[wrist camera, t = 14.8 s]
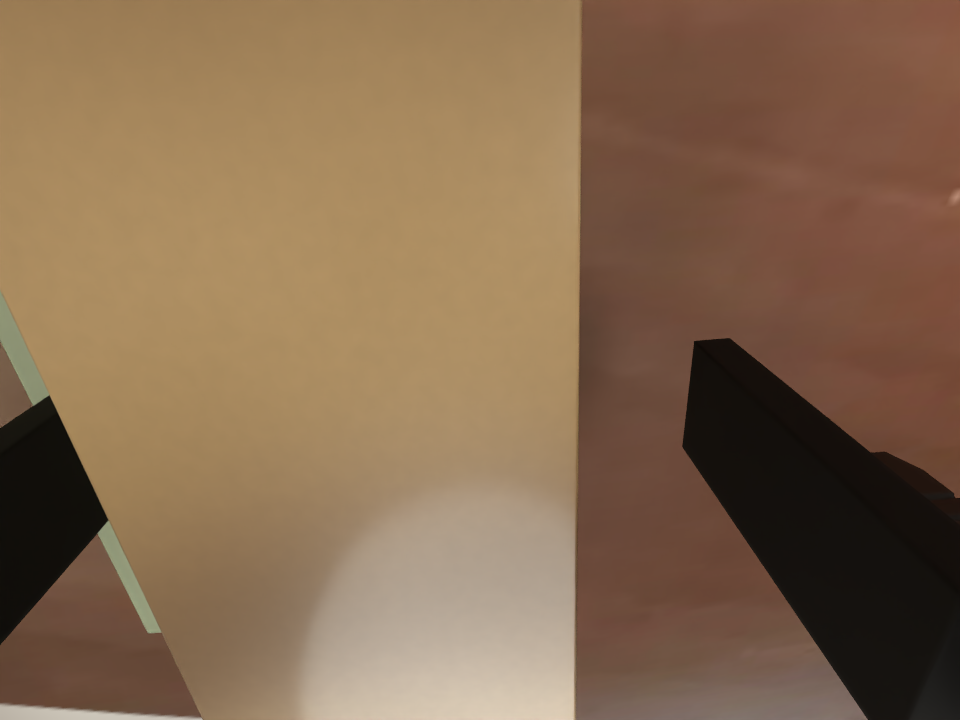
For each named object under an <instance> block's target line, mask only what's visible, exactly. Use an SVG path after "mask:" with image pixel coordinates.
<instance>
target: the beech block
mask: <svg viewBox="0 0 960 720" xmlns="http://www.w3.org/2000/svg"><path fill="white" fill-rule="evenodd" d="M581 99H582V0H0V291H1V293H2V295H3V298H4V300H5V302H6V304H7V306H8V308H9V310H10V312H11V315H12V317H13V319H14V321H15V323H16V325H17V327H18V329H19V331H20V334H21V336H22V338H23V340H24V342H25V344H26V346H27V348H28V351H29V353H30V355H31V357H32V359H33V361H34V363H35V365H36V368H37V370H38V372H39V374H40V376H41V378H42V380H43V382H44V384H45V387H46V389H47V391H48V393H49V395H50V397H51V399H52V401H53V404H54V406H55V408H56V410H57V412H58V414H59V416H60V418H61V420H62V423H63V425H64V427H65V429H66V431H67V433H68V435H69V437H70V440H71V442H72V444H73V446H74V448H75V450H76V452H77V454H78V456H79V459H80V461H81V463H82V465H83V467H84V469H85V471H86V473H87V476H88V478H89V480H90V482H91V484H92V486H93V488H94V490H95V492H96V495H97V497H98V499H99V501H100V503H101V505H102V507H103V509H104V512H105V514H106V516H107V518H108V520H109V522H110V524H111V526H112V528H113V531H114V533H115V535H116V537H117V539H118V541H119V543H120V545H121V548H122V550H123V552H124V554H125V556H126V558H127V560H128V562H129V564H130V567H131V569H132V571H133V573H134V575H135V577H136V579H137V581H138V584H139V586H140V588H141V590H142V592H143V594H144V596H145V598H146V600H147V603H148V605H149V607H150V609H151V611H152V613H153V615H154V617H155V620H156V622H157V624H158V626H159V628H160V630H161V632H162V634H163V637H164V639H165V641H166V643H167V645H168V647H169V649H170V651H171V653H172V656H173V658H174V660H175V662H176V664H177V666H178V668H179V670H180V673H181V675H182V677H183V679H184V681H185V683H186V685H187V687H188V689H189V692H190V694H191V696H192V698H193V700H194V702H195V704H196V706H197V709H198V711H199V713H200V715H201V717H202V719H203V720H576V671H577V557H578V442H579V328H580V213H581Z"/></svg>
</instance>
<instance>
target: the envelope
mask: <svg viewBox="0 0 960 720" xmlns="http://www.w3.org/2000/svg"><path fill="white" fill-rule="evenodd" d="M0 341H1V343H2V345H3V347H4V349H5V351H6V353H7V355H8V357H9V359H10V361H11V363H12V365H13V367H14V369H15V371H16V373H17V375H18V377H19V379H20V381H21V383H22V385H23V387H24V389H25V391H26V393H27V395H28V397H29V399H30V401H31V403H32V405H33V406H34V405H35V404H37V403H38V402H40V401H41V400H43V399H44V398H46V397H47V396H49V393H48V391H47V389H46V387H45V384H44V382H43V380H42V378H41V376H40V374H39V372H38V370H37V368H36V365H35V363H34V361H33V359H32V357H31V355H30V353H29V351H28V348H27V346H26V344H25V342H24V340H23V338H22V336H21V334H20V331H19V329H18V327H17V325H16V323H15V321H14V319H13V317H12V315H11V312H10V310H9V308H8V306H7V304H6V302H5V300H4V298H3V295H2V293H1V291H0ZM98 535H99V537H100V539H101V541H102V543H103V545H104V547H105V549H106V551H107V553H108V555H109V557H110V559H111V561H112V563H113V565H114V567H115V569H116V571H117V573H118V575H119V577H120V579H121V581H122V583H123V585H124V587H125V589H126V591H127V593H128V595H129V597H130V599H131V601H132V603H133V605H134V607H135V609H136V611H137V613H138V615H139V616H140V618H141V620H142V622H143V624H144V626H145V628H146V630H147V632H148V633H159V632H161V630H160V628H159V626H158V624H157V622H156V620H155V617H154V615H153V613H152V611H151V609H150V607H149V605H148V603H147V600H146V598H145V596H144V594H143V592H142V590H141V588H140V586H139V584H138V581H137V579H136V577H135V575H134V573H133V571H132V569H131V567H130V564H129V562H128V560H127V558H126V556H125V554H124V552H123V550H122V548H121V545H120V543H119V541H118V539H117V537H116V535H115V533H114V531H113V528H112V526H111V524H110V522H109V521H108V522H107V523H106V524H105V525H104V526H103V527H102V529H101V530H100V531H99V532H98Z"/></svg>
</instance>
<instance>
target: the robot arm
mask: <svg viewBox="0 0 960 720" xmlns="http://www.w3.org/2000/svg"><path fill="white" fill-rule="evenodd" d="M682 447H683V449H684V450H685V451H686V453H687V454H688V456H689V457H690V459H691V460H692V462H693V463H694V465H695V466H696V468H697V469H698V471H699V472H700V474H701V475H702V476H703V478H704V479H705V481H706V482H707V484H708V485H709V487H710V488H711V490H712V491H713V493H714V494H715V496H716V497H717V498H718V500H719V501H720V503H721V504H722V506H723V507H724V509H725V510H726V512H727V513H728V515H729V516H730V518H731V519H732V521H733V522H734V523H735V525H736V526H737V528H738V529H739V531H740V532H741V534H742V535H743V537H744V538H745V540H746V541H747V543H748V544H749V546H750V547H751V548H752V550H753V551H754V553H755V554H756V556H757V557H758V559H759V560H760V562H761V563H762V565H763V566H764V568H765V569H766V570H767V572H768V573H769V575H770V576H771V578H772V579H773V581H774V582H775V584H776V585H777V587H778V588H779V590H780V591H781V593H782V594H783V595H784V597H785V598H786V600H787V601H788V603H789V604H790V606H791V607H792V609H793V610H794V612H795V613H796V615H797V616H798V618H799V619H800V620H801V622H802V623H803V625H804V626H805V628H806V629H807V631H808V632H809V634H810V635H811V637H812V638H813V640H814V641H815V642H816V644H817V645H818V647H819V648H820V650H821V651H822V653H823V654H824V656H825V657H826V659H827V660H828V662H829V663H830V665H831V666H832V667H833V669H834V670H835V672H836V673H837V675H838V676H839V678H840V679H841V681H842V682H843V684H844V685H845V687H846V688H847V690H848V691H849V692H850V694H851V695H852V697H853V698H854V700H855V701H856V703H857V704H858V706H859V707H860V709H861V710H862V712H863V713H864V714H865V716H866V717H867V719H868V720H960V498H955V497H954V493H953V492H951V491H950V490H949V489H947V488H946V487H945V486H944V485H942V484H941V483H940V482H938V481H937V480H936V479H934V478H933V477H932V476H930V475H929V474H928V473H926V472H925V471H924V470H922V469H920V468H918V467H916V466H914V465H912V464H909V463H907V462H905V461H903V460H901V459H899V458H897V457H895V456H893V455H891V454H889V453H887V452H875V453H870V452H869V451H868V450H867V449H865V448H864V447H863V446H862V445H861V444H859V443H858V442H857V441H856V440H854V439H853V438H852V437H851V436H849V435H848V434H847V433H846V432H845V431H843V430H842V429H841V428H840V427H838V426H837V425H836V424H835V423H833V422H832V421H831V420H830V419H829V418H827V417H826V416H825V415H824V414H822V413H821V412H820V411H819V410H817V409H816V408H815V407H814V406H812V405H811V404H810V403H809V402H808V401H806V400H805V399H804V398H803V397H801V396H800V395H799V394H798V393H796V392H795V391H794V390H793V389H792V388H790V387H789V386H788V385H787V384H785V383H784V382H783V381H782V380H780V379H779V378H778V377H777V376H776V375H774V374H773V373H772V372H771V371H769V370H768V369H767V368H766V367H764V366H763V365H762V364H761V363H760V362H758V361H757V360H756V359H755V358H753V357H752V356H751V355H750V354H748V353H747V352H746V351H745V350H744V349H742V348H741V347H740V346H739V345H737V344H736V343H735V342H734V341H732V340H731V339H730V338H726V339H713V340H701V341H694V349H693V358H692V367H691V375H690V384H689V393H688V402H687V411H686V419H685V428H684V437H683V446H682ZM108 521H109V520H108V518H107V516H106V514H105V512H104V509H103V507H102V505H101V503H100V501H99V499H98V497H97V495H96V492H95V490H94V488H93V486H92V484H91V482H90V480H89V478H88V476H87V473H86V471H85V469H84V467H83V465H82V463H81V461H80V459H79V456H78V454H77V452H76V450H75V448H74V446H73V444H72V442H71V440H70V437H69V435H68V433H67V431H66V429H65V427H64V425H63V423H62V420H61V418H60V416H59V414H58V412H57V410H56V408H55V406H54V404H53V401H52V399H51V397H50V395H49V396H47V397H46V398H44V399H43V400H41V401H40V402H38V403H37V404H35V405H34V406H32V407H31V408H30V409H28V410H27V411H25V412H24V413H22V414H21V415H19V416H18V417H16V418H15V419H13V420H12V421H10V422H9V423H7V424H6V425H4V426H3V427H1V428H0V645H1V643H2V642H3V641H4V640H5V639H6V638H7V637H8V635H9V634H10V633H11V632H12V631H13V630H14V629H15V627H16V626H17V625H18V624H19V623H20V622H21V620H22V619H23V618H24V617H25V616H26V615H27V614H28V612H29V611H30V610H31V609H32V608H33V607H34V606H35V604H36V603H37V602H38V601H39V600H40V599H41V598H42V596H43V595H44V594H45V593H46V592H47V591H48V589H49V588H50V587H51V586H52V585H53V584H54V583H55V581H56V580H57V579H58V578H59V577H60V576H61V575H62V573H63V572H64V571H65V570H66V569H67V568H68V567H69V565H70V564H71V563H72V562H73V561H74V560H75V558H76V557H77V556H78V555H79V554H80V553H81V552H82V550H83V549H84V548H85V547H86V546H87V545H88V544H89V542H90V541H91V540H92V539H93V538H94V537H95V536H96V534H97V533H98V532H99V531H100V530H101V529H102V527H103V526H104V525H105V524H106V523H107V522H108Z"/></svg>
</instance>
